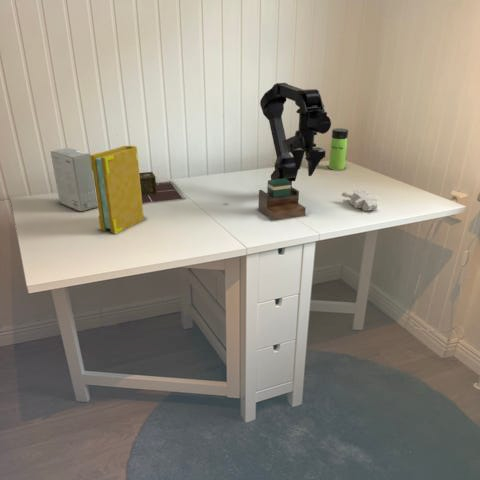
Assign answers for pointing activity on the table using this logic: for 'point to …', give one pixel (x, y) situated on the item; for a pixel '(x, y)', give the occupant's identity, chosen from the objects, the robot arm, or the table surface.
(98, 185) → the book
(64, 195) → the hard drive box
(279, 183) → the tea packet
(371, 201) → the bunny figurine
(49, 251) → the table surface
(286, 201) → the step shelf
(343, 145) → the tumbler
